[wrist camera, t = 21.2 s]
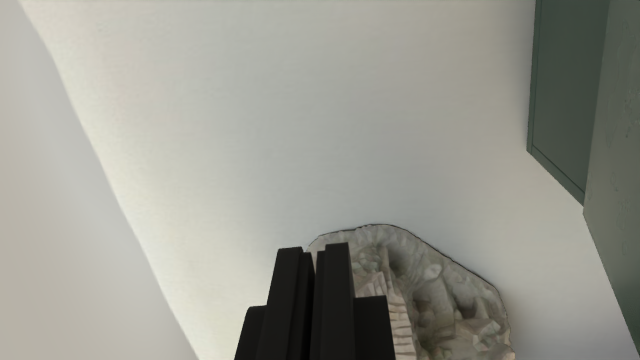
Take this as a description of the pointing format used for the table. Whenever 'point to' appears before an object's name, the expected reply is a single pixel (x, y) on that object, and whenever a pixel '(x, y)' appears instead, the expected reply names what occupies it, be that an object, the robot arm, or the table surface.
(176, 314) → the table surface
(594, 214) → the lid
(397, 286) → the ceramic cottage
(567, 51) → the tin
